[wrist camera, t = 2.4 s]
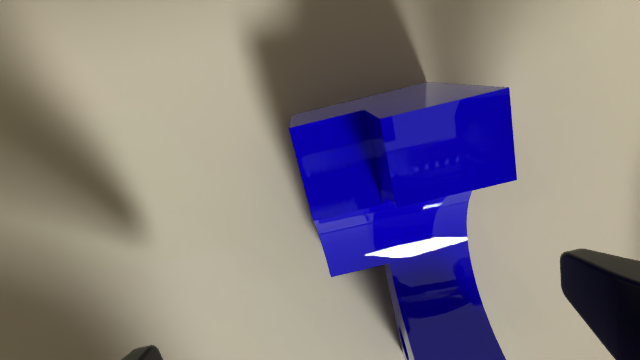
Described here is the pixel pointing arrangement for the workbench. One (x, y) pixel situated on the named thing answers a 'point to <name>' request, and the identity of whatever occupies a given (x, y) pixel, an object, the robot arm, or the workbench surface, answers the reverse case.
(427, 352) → the cable holder
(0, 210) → the workbench surface
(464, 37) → the workbench surface
